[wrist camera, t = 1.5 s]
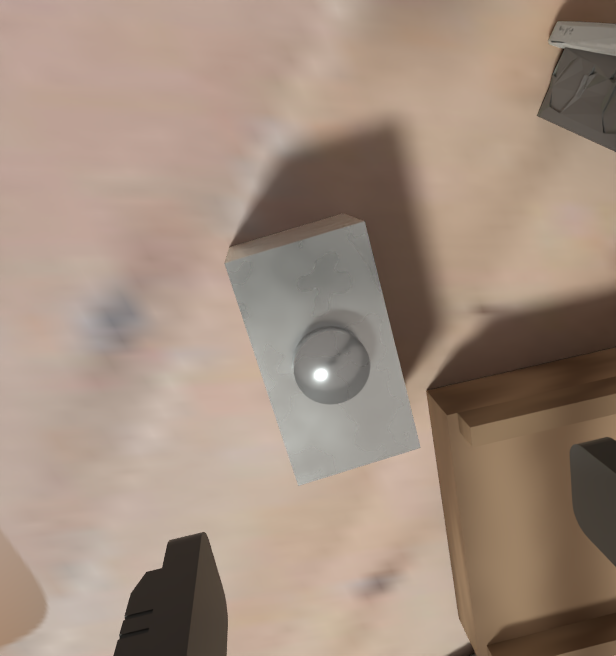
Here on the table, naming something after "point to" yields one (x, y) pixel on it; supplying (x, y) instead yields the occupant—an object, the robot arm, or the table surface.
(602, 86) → the electrical switch
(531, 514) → the brown wooden tray
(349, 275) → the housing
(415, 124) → the table surface
